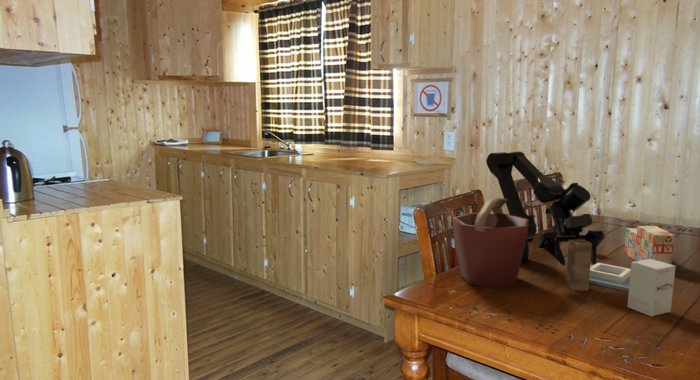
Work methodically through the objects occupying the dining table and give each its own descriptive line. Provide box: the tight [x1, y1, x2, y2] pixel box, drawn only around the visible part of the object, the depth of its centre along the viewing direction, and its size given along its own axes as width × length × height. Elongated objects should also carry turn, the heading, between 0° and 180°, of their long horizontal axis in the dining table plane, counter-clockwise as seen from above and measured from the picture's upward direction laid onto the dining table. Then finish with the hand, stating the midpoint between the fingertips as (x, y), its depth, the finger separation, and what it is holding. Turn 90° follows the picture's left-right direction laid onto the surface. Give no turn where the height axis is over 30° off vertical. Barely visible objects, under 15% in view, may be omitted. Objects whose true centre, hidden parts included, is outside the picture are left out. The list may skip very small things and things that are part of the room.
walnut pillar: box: [565, 239, 592, 292], centre depth 151 cm, size 4×4×14 cm
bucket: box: [452, 197, 528, 289], centre depth 158 cm, size 24×22×25 cm
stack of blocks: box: [623, 225, 675, 265], centre depth 175 cm, size 21×6×12 cm, turn 174°
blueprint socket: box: [589, 262, 631, 293], centre depth 159 cm, size 16×16×3 cm
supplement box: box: [627, 259, 676, 317], centre depth 134 cm, size 7×7×13 cm
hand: (579, 264), depth 150 cm, fingers open, 9 cm apart
